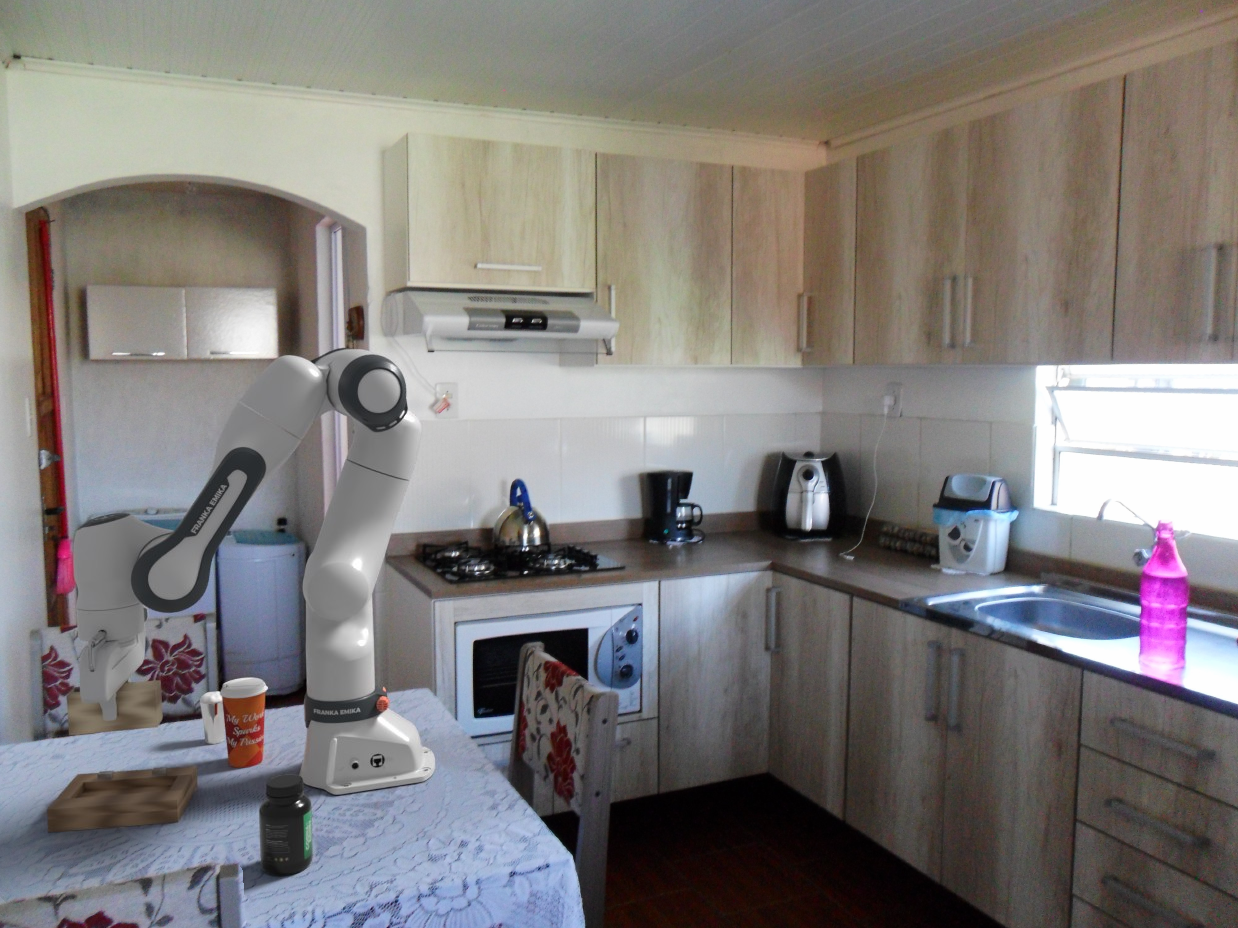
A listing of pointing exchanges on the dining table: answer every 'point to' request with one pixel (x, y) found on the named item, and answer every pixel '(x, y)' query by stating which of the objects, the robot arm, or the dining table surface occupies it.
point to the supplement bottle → (285, 827)
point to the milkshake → (213, 717)
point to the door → (135, 710)
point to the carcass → (123, 798)
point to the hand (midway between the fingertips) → (116, 712)
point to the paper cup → (244, 720)
